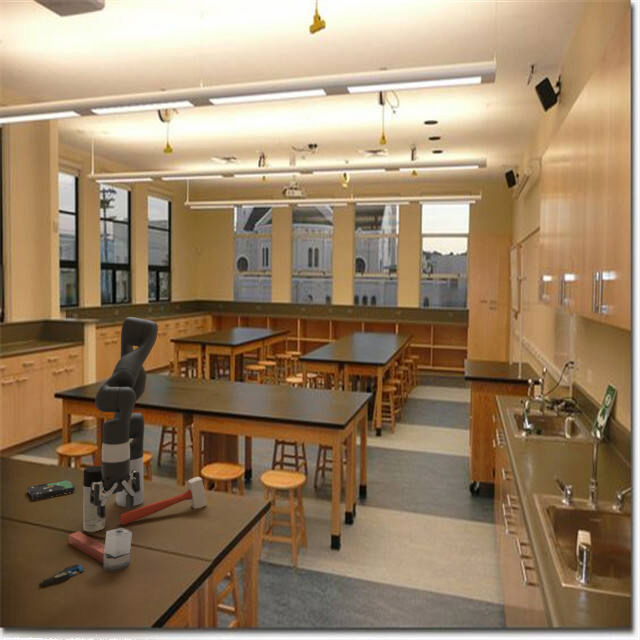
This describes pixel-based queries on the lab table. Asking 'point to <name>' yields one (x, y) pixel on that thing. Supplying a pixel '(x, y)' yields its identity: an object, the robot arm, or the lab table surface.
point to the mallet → (170, 502)
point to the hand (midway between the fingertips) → (115, 512)
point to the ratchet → (99, 552)
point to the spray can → (89, 510)
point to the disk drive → (50, 489)
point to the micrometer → (62, 575)
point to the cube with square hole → (118, 542)
